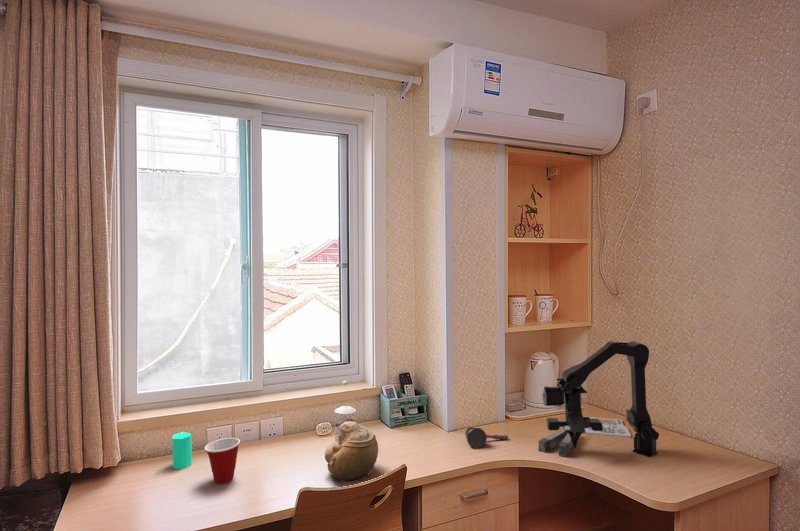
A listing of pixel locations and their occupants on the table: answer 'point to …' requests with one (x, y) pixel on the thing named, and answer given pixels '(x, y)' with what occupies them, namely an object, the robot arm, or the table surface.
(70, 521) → the table surface
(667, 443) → the table surface
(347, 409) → the french press
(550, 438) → the tongs fixed
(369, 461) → the buddha statue
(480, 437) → the black mallet
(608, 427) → the office telephone
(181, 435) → the candle
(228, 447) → the plastic cup
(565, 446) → the bar
